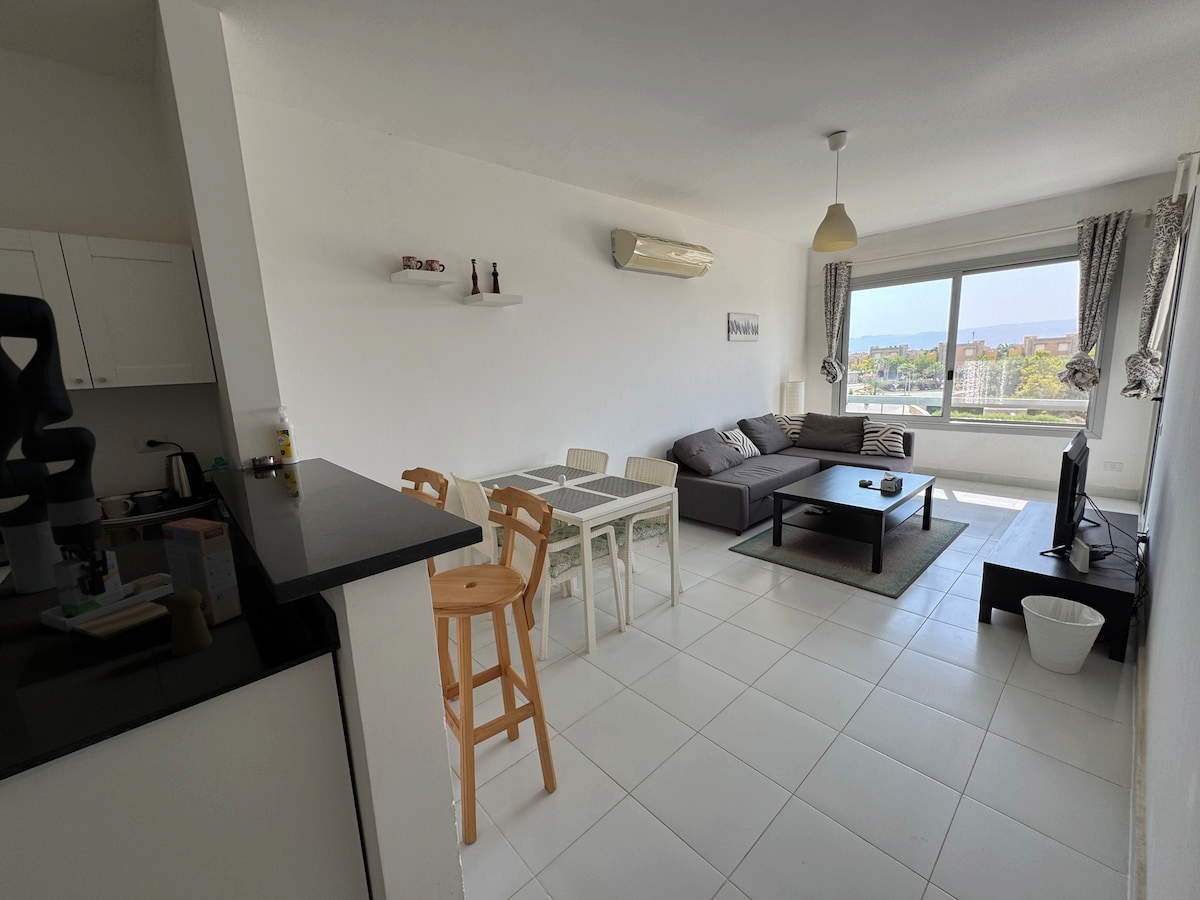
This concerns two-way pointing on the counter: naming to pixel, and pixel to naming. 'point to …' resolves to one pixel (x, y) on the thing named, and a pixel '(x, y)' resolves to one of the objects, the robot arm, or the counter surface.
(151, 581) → the beech block
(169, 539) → the cracker box
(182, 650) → the pepper shaker
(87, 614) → the white slotted tray
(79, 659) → the counter surface
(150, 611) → the striped wooden board
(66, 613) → the ink box
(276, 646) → the counter surface
